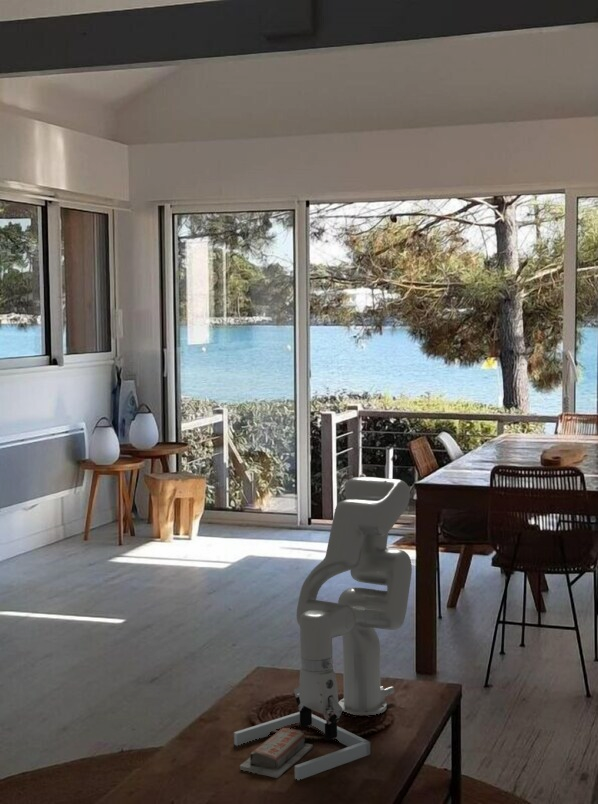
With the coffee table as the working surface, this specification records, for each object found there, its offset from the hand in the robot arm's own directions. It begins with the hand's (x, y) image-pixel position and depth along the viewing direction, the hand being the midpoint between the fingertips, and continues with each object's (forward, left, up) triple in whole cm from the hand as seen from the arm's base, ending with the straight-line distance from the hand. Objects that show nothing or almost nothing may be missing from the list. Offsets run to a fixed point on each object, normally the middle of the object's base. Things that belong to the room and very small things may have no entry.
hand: (318, 732), depth 269 cm
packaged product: (+13, 0, -4) cm, 13 cm away
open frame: (+6, 0, -3) cm, 6 cm away
